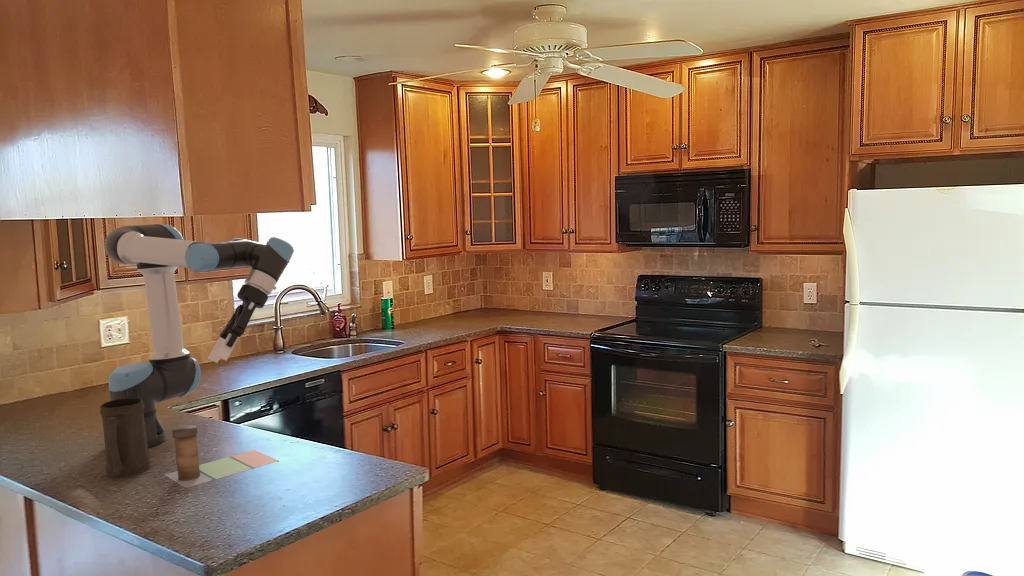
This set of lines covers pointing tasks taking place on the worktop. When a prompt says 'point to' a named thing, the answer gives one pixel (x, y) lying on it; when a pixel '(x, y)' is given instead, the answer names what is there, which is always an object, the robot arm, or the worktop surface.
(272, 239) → the robot arm
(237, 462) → the gauge board
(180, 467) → the wooden dark-capped post
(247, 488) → the worktop surface
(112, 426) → the beer stein
